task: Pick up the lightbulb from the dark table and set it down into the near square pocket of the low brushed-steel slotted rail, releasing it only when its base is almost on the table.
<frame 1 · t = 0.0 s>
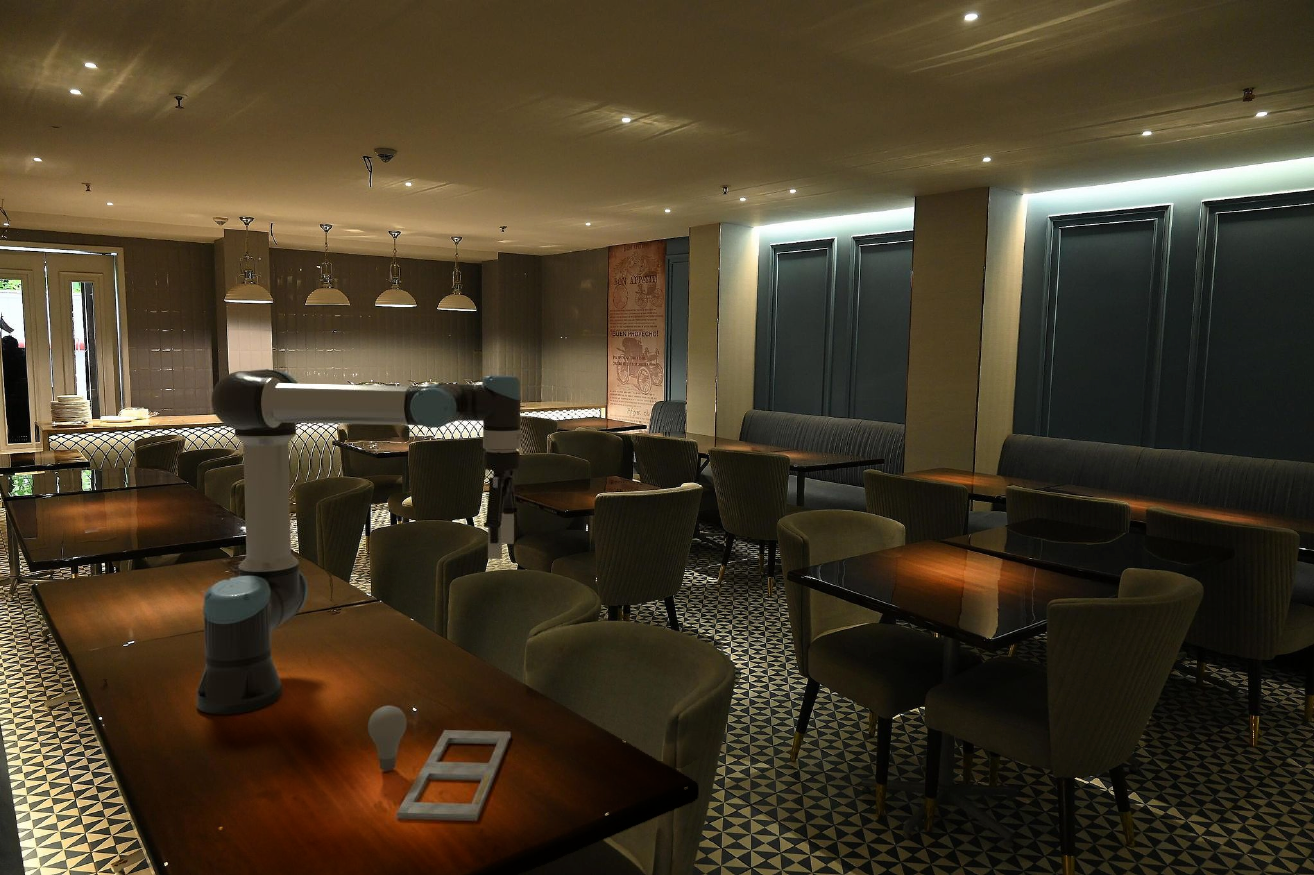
hand: (501, 550, 180), 28 cm above the table, fingers open, 13 cm apart
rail: (459, 773, 142), on the table
lightbulb: (387, 771, 143), on the table
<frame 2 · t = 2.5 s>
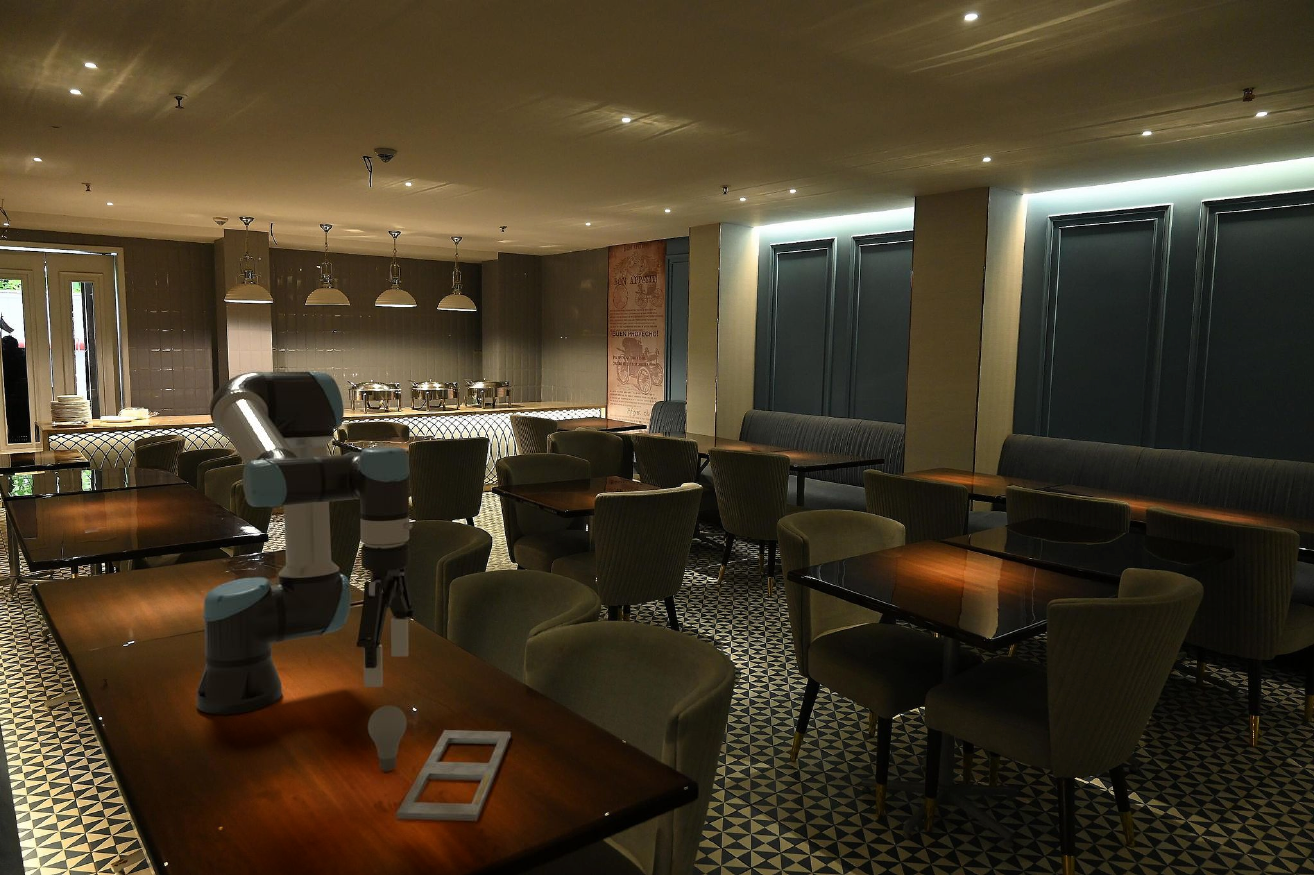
hand: (387, 670, 141), 17 cm above the table, fingers open, 13 cm apart
nothing on the table moved.
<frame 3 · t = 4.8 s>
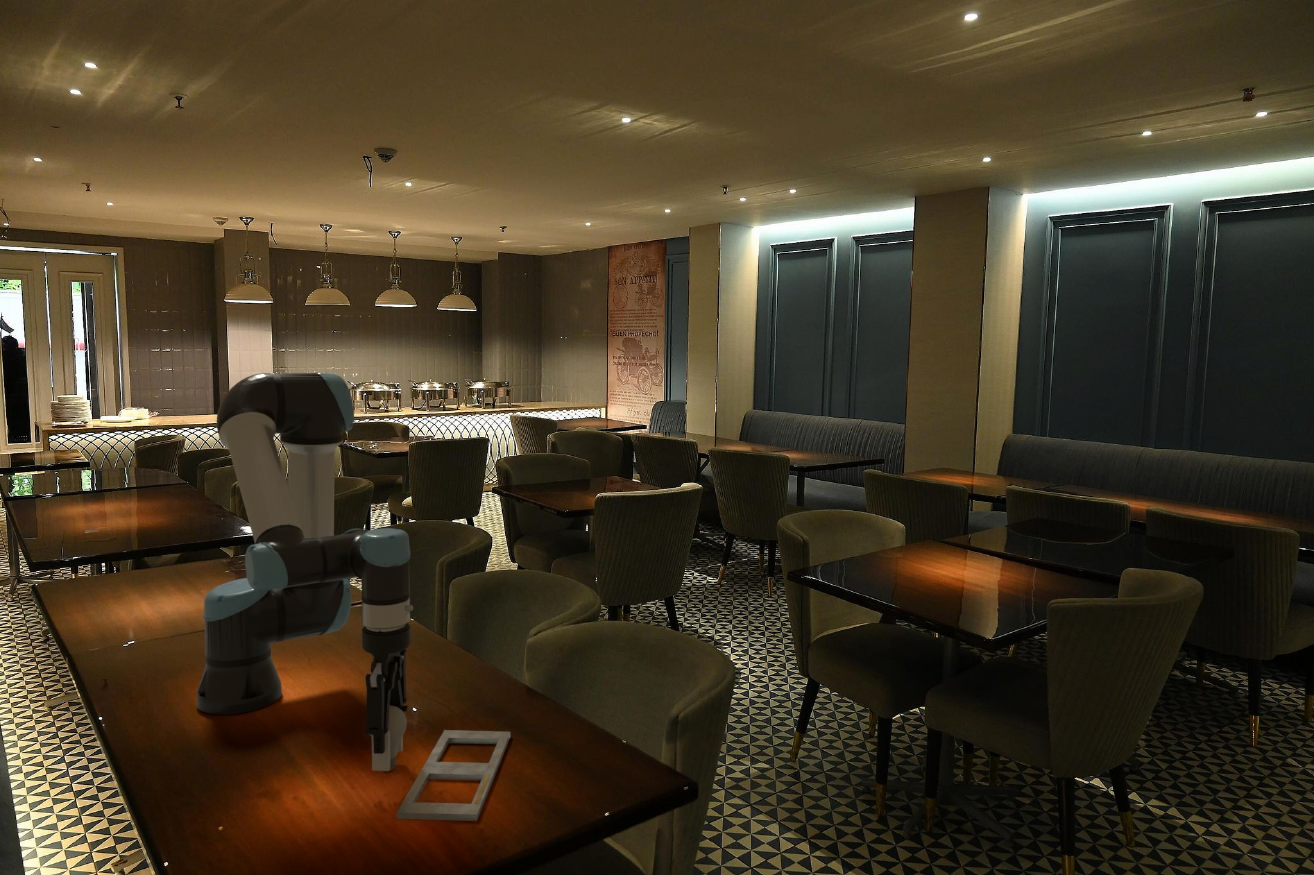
hand: (387, 759, 143), 2 cm above the table, fingers closed on lightbulb, 6 cm apart
lightbulb: (387, 771, 143), on the table, touching gripper
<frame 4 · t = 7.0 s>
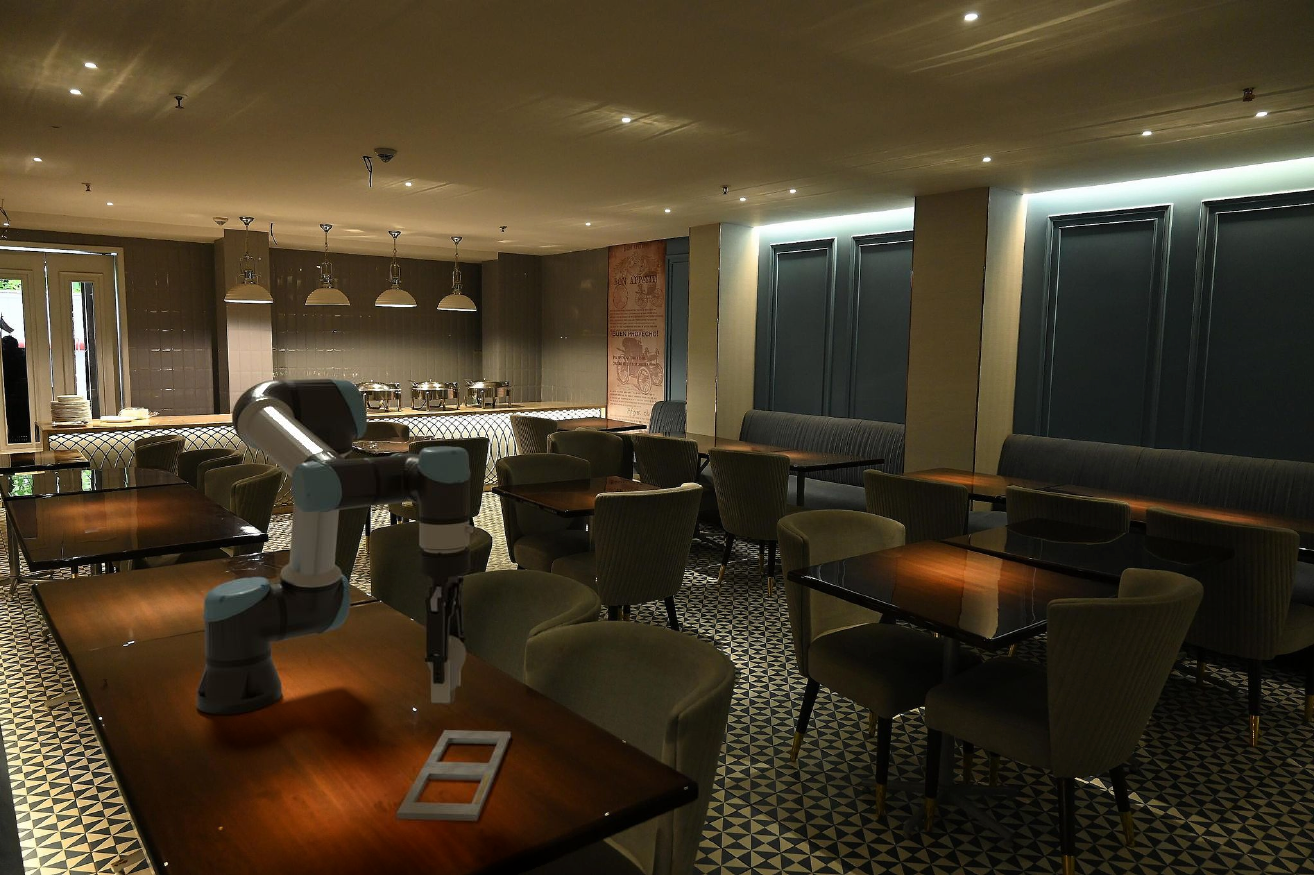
hand: (446, 692, 134), 17 cm above the table, fingers closed on lightbulb, 6 cm apart
lightbulb: (446, 705, 134), point 14 cm above the table, touching gripper
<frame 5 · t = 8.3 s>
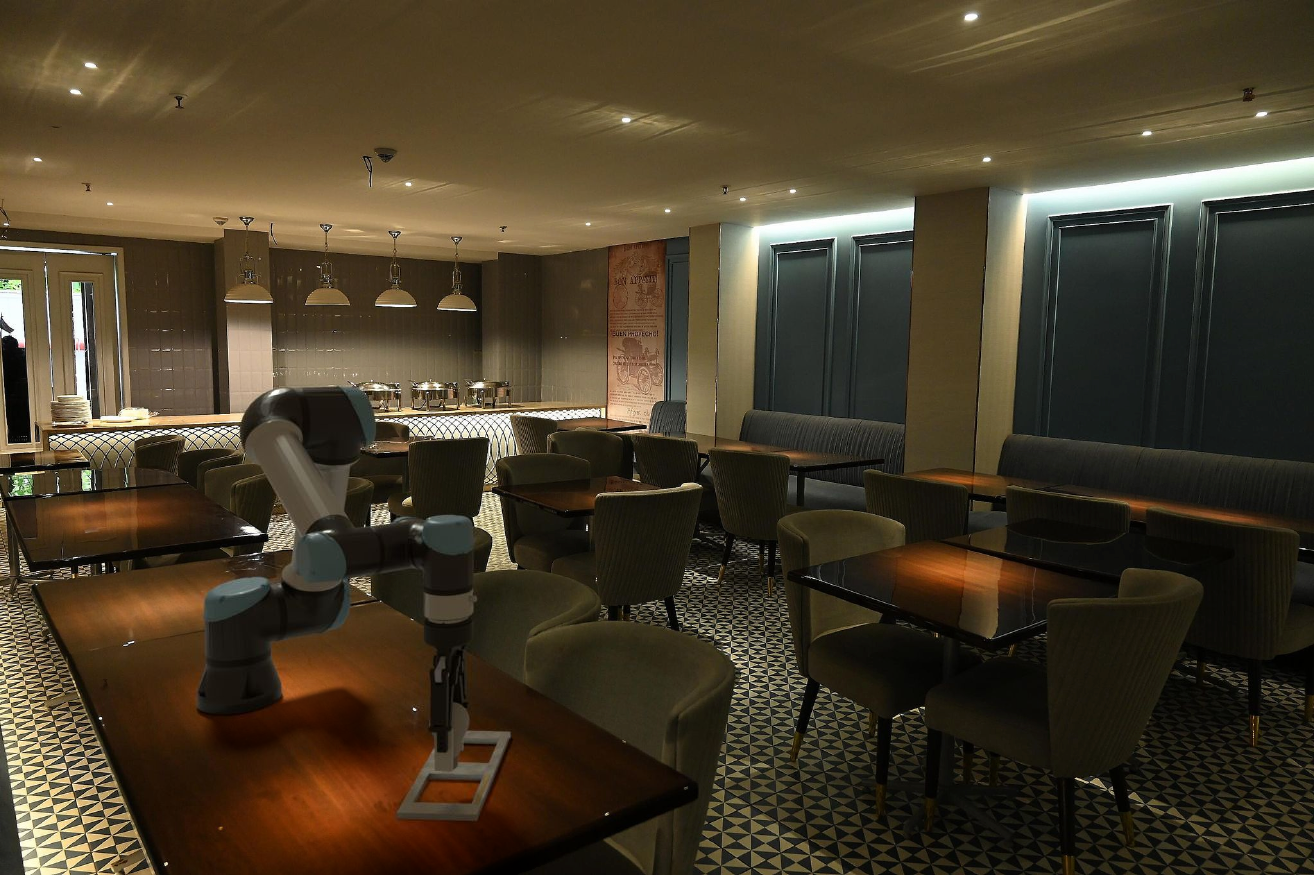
hand: (449, 759, 135), 6 cm above the table, fingers closed on lightbulb, 6 cm apart
lightbulb: (449, 771, 135), point 4 cm above the table, touching gripper
when the fingers open (3 cm above the table, at t = 9.2 s): lightbulb stays where it is, resting in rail.
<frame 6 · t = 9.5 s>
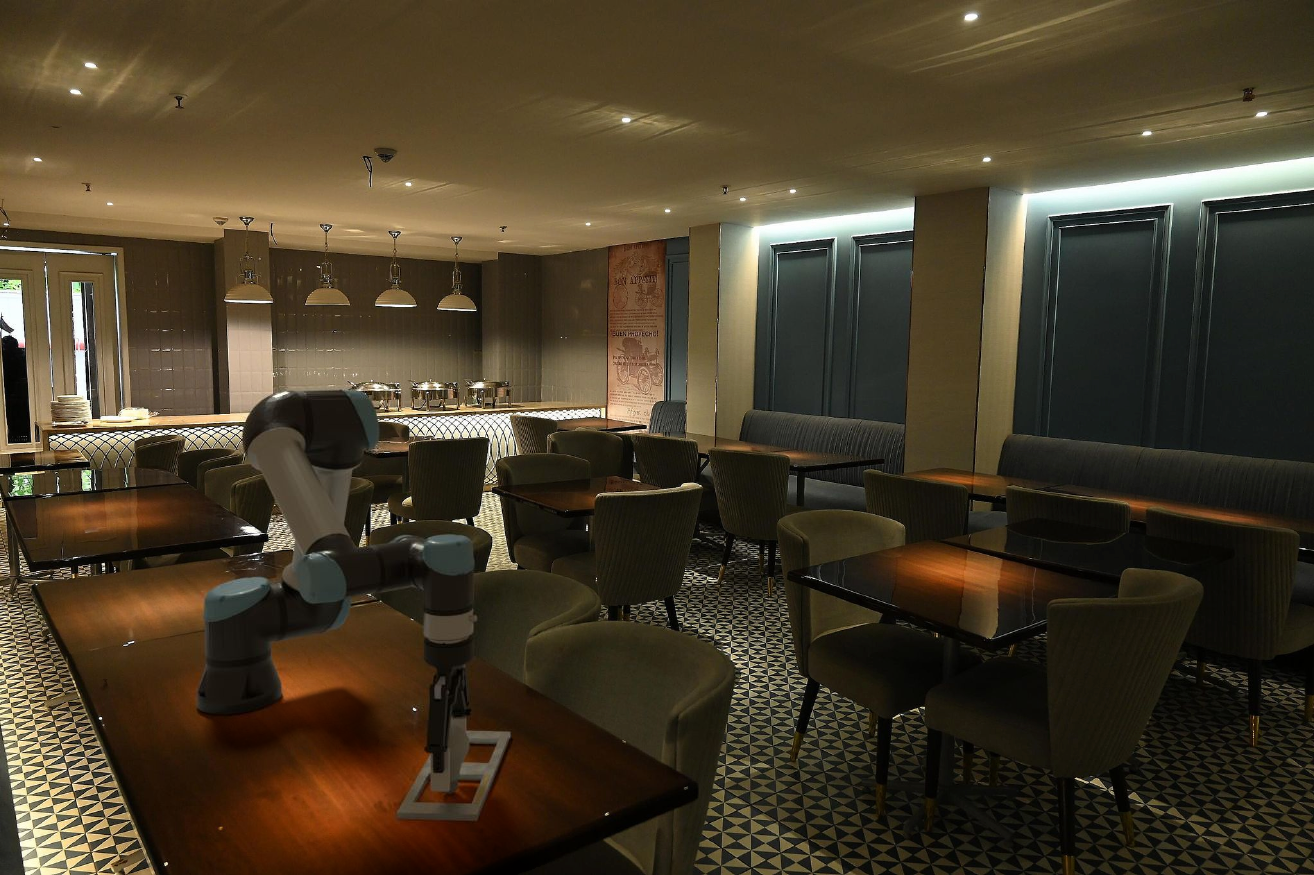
hand: (449, 772, 135), 4 cm above the table, fingers open, 10 cm apart
lightbulb: (449, 794, 136), resting in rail
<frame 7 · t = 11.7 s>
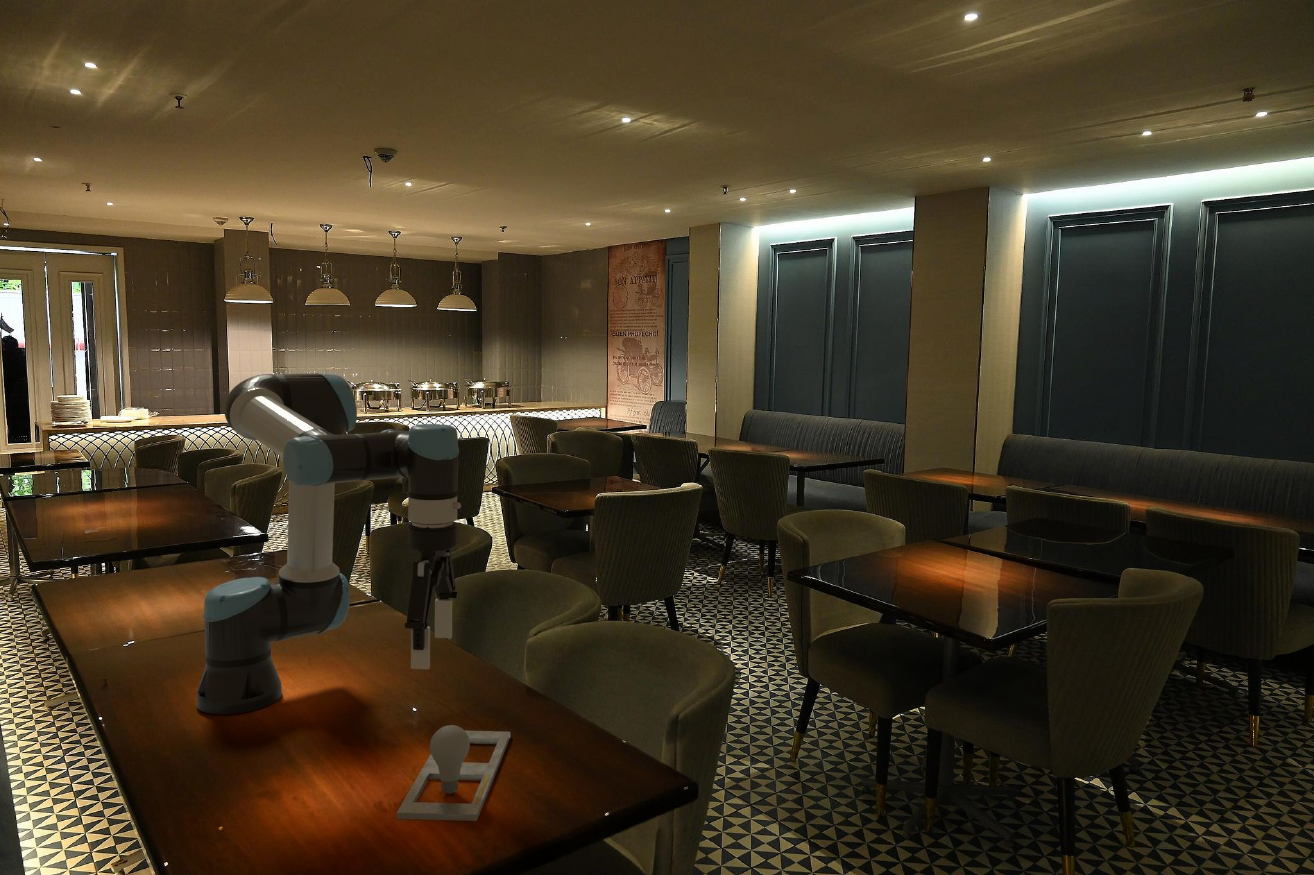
hand: (432, 652, 138), 21 cm above the table, fingers open, 13 cm apart
nothing on the table moved.
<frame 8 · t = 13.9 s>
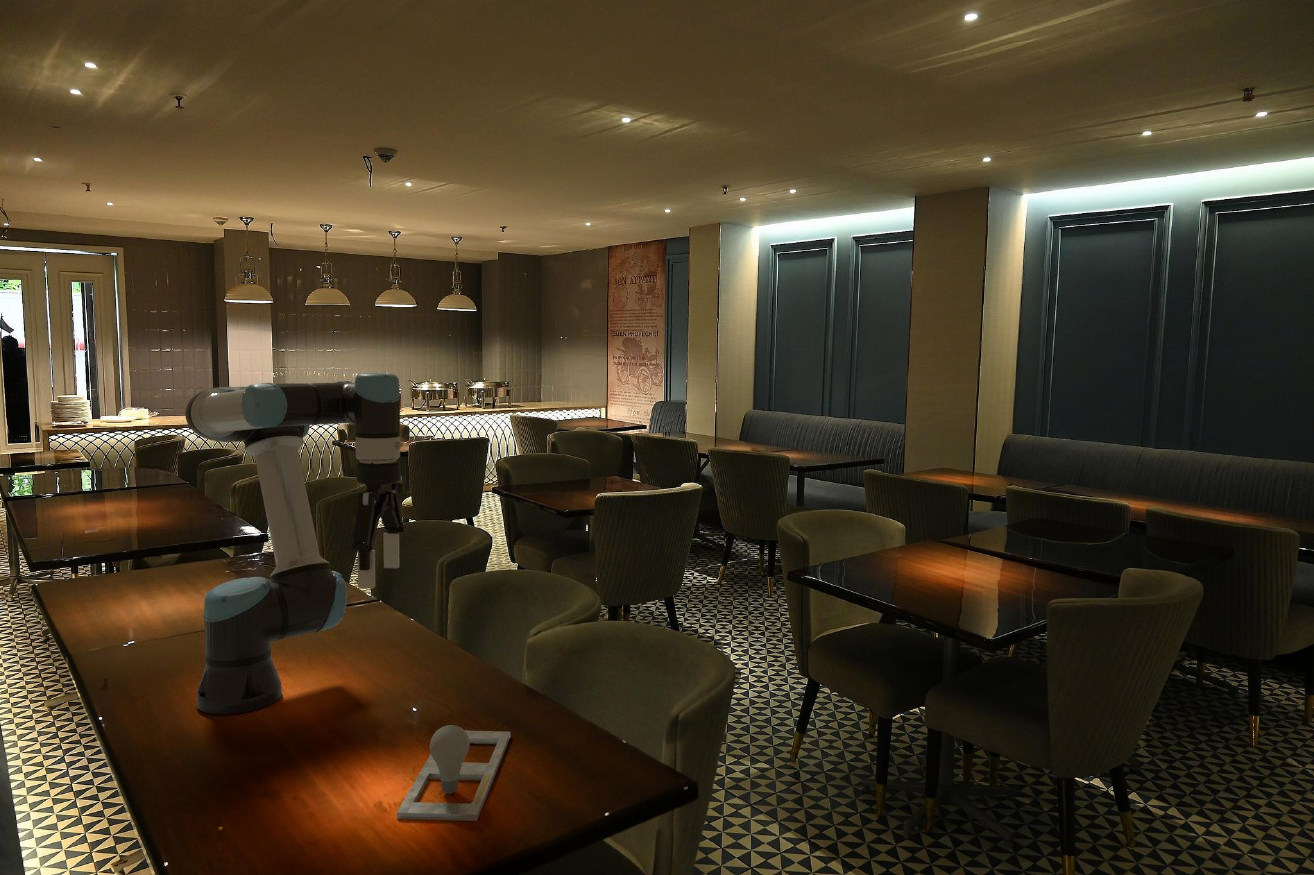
hand: (379, 577, 155), 29 cm above the table, fingers open, 13 cm apart
nothing on the table moved.
at the end: lightbulb 0.2 cm from the target spot, resting in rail; the gripper is holding nothing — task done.
